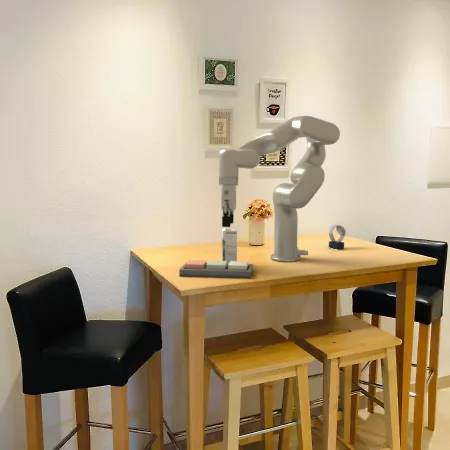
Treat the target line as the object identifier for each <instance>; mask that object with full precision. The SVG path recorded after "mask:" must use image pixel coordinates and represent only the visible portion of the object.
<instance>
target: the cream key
mask: <svg viewBox="0 0 450 450" xmlns="http://www.w3.org/2000/svg"><path fill="white" fill-rule="evenodd" d="M248 264H249V261H245V260H244V261H242V260H241V261H239V260H237V261H230V263H229V265H228V269H235V270H247V268H248Z"/></svg>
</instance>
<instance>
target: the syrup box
mask: <svg viewBox="0 0 450 450" xmlns="http://www.w3.org/2000/svg"><path fill="white" fill-rule="evenodd" d="M221 261H227V263H230V261H238V230H237V229H236V228H233V227H224V228H222V229H221Z"/></svg>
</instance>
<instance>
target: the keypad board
mask: <svg viewBox="0 0 450 450" xmlns="http://www.w3.org/2000/svg"><path fill="white" fill-rule="evenodd" d="M187 262H188V261H185V262H184V264H182V266H181V267H180V268H179V271H178V272H179V275H178V276H179V277H192V276H195V277H197V276H198V278H199V277H200V278H202V277H203V278H231V279H232V278H233V279H251V277H252V274H253V271H254V264H253V263H248V268H247V270H235V269H228V265H229V263H227V266H226V268H225V269H206V266H205V267H204V268H203V269H198V268H185V264H186V263H187ZM207 263H208V262H206V265H207Z"/></svg>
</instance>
